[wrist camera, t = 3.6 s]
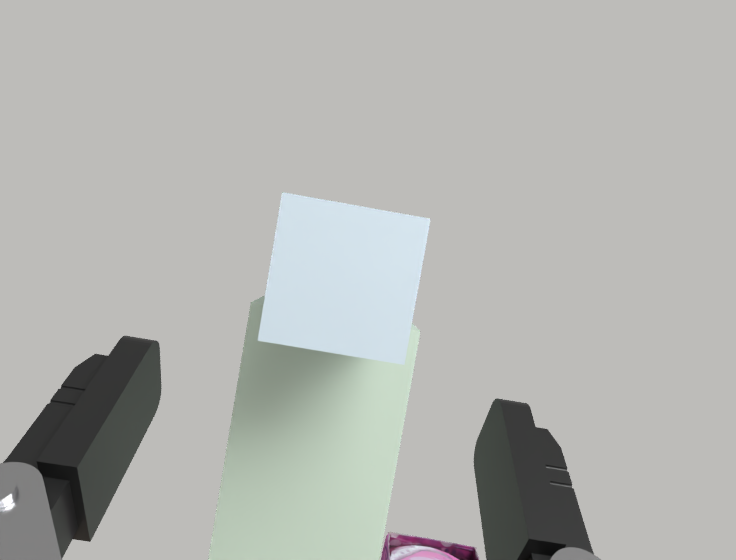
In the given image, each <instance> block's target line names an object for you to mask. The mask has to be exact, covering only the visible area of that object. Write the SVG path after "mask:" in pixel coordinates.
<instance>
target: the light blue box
mask: <svg viewBox="0 0 736 560" xmlns="http://www.w3.org/2000/svg"><path fill="white" fill-rule="evenodd" d="M429 225H430V219H429V218H423V217H417V216H412V215H406V214H401V213H395V212H389V211H383V210H379V209H373V208H367V207H362V206H356V205H351V204H344V203H340V202H333V201H328V200H322V199H317V198H312V197H306V196H300V195H295V194H289V193H283V192H282V197H281V203H280V209H279V215H278V221H277V227H276V233H275V239H274V246H273V251H272V257H271V264H270V269H269V275H268V281H267V287H266V294H265V299H264V305H263V311H262V317H261V323H260V329H259V335H258V341H263V342H269V343H275V344H281V345H287V346H293V347H299V348H305V349H311V350H317V351H323V352H329V353H335V354H341V355H347V356H353V357H359V358H366V359H372V360H378V361H384V362H390V363H396V364H402V365H404V364H405V359H406V353H407V348H408V342H409V336H410V331H411V325H412V320H413V314H414V308H415V303H416V297H417V292H418V286H419V281H420V275H421V269H422V264H423V258H424V252H425V247H426V242H427V235H428V231H429Z"/></svg>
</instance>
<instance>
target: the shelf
mask: <svg viewBox="0 0 736 560" xmlns="http://www.w3.org/2000/svg"><path fill="white" fill-rule="evenodd" d="M264 299H265V296H263V297H261V298H259V299H257V300H255V301H253V302H251V306H250V311H249V318H248V324H247V330H246V335H245V342H244V347H243V354H242V360H241V366H240V372H239V378H238V384H237V390H236V396H235V402H234V408H233V414H232V420H231V426H230V432H229V438H228V444H227V450H226V456H225V462H224V468H223V474H222V480H221V486H220V492H219V498H218V504H217V510H216V516H215V522H214V528H213V534H212V540H211V546H210V552H209V558H208V560H380V554H381V549H382V543H383V537H384V532H385V526H386V520H387V515H388V510H389V504H390V498H391V493H392V486H393V482H394V476H395V471H396V464H397V459H398V453H399V448H400V443H401V437H402V432H403V426H404V420H405V414H406V409H407V404H408V398H409V393H410V387H411V381H412V376H413V370H414V365H415V359H416V354H417V348H418V342H419V336H420V330H419V329H418V328H417V327H416V326H415V325H414V324H413V323H412V325H411V331H410V336H409V342H408V348H407V353H406V359H405V364H404V365H402V364H396V363H390V362H384V361H378V360H372V359H366V358H359V357H353V356H347V355H341V354H335V353H329V352H323V351H317V350H311V349H305V348H299V347H293V346H287V345H281V344H275V343H269V342H263V341H258V335H259V329H260V323H261V317H262V311H263V305H264Z"/></svg>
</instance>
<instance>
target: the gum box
mask: <svg viewBox="0 0 736 560" xmlns="http://www.w3.org/2000/svg"><path fill="white" fill-rule="evenodd" d="M381 560H479V557H478V554H477V551H476V547H471V546H465V545H460V544H456V543H450V542H445V541H440V540H434V539H429V538H422V537H417V536H411V535H405V534H399V533H393V532H389V533H388V535H387V536H386V539H385V544H384V548H383V552H382V558H381Z"/></svg>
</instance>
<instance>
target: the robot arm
mask: <svg viewBox="0 0 736 560" xmlns="http://www.w3.org/2000/svg"><path fill="white" fill-rule="evenodd" d="M160 396H161V370H160V348H159V343H158V342H157V341H154V340H148V339H142V338H136V337H130V336H123V337H122V338H121V339H120V340H119V342H118V343H117V345H116V346H115V347H114V349H113V350H112V352H111V353H110V354H109V356H104V355H99V354H94V355H93V356H92V357H90V358H88V359H87V360H85V361H84V362H82V363H81V364H79V365H78V366H77V367H75V368H74V369H73V371H72V372H71V373H70V375H69V376H68V377H67V379H66V380H65V381H64V383H63V384H62V386H61V389H58V391H57V392H56V393H55V395H54V396H53V398H52V399H51V402H50V404H47V405H46V407H45V408H44V410H43V411H42V412H41V413H40V415H39V416H38V418H37V419H36V420H35V422H34V423H33V424H32V426H31V427H30V428H29V430H28V431H27V432H26V434H25V435H24V436H23V438H22V439H21V440H20V442H19V443H18V444H17V446H16V447H15V448H14V450H13V451H12V453H11V454H10V455H9V456H8V458H7V459H6V460H5V461H4V462H3V463H1V464H0V560H62V557H63V555H64V554H65V552H66V550H67V548H68V546H69V544H70V542H71V541H72V539H76V540H83V541H89V542H90V541H91V539H92V537H93V535H94V533H95V531H96V529H97V528H98V525H99V524H100V522H101V520H102V518H103V516H104V514H105V512H106V510H107V508H108V506H109V504H110V502H111V500H112V498H113V496H114V494H115V492H116V490H117V488H118V486H119V484H120V482H121V480H122V478H123V476H124V474H125V473H126V470H127V468H128V467H129V465H130V463H131V461H132V459H133V457H134V454H135V453H136V451H137V449H138V447H139V445H140V443H141V441H142V439H143V437H144V435H145V433H146V431H147V429H148V427H149V425H150V423H151V421H152V419H153V417H154V415H155V413H156V411H157V408H158V405H159V400H160ZM474 469H475V477H476V484H477V492H478V499H479V506H480V514H481V522H482V529H483V537H484V544H485V552H486V558H487V560H600V559H599V558H598V557H596V556H595V555H594V553H593V551H592V548H591V545H590V541H589V538H588V535H587V532H586V528H585V525H584V522H583V518H582V515H581V512H580V509H579V505H578V502H577V499H576V495H575V492H574V489H573V488H572V482H571V479H570V476H569V472H567V466H566V463H565V460H564V456H563V453H562V450H561V447H560V446H559V445H558V443H557V442H556V441H555V439H554V438H553V436H552V435H551V434H550V432H549V431H548V430H547V429H543V428H537V427H535V424H534V420H533V416H532V413H531V409H530V407H529V405H528V404H527V403H521V402H515V401H509V400H503V399H495V400H494V402H493V404H492V405H491V408H490V410H489V413H488V415H487V418H486V420H485V423H484V425H483V427H482V430H481V432H480V435H479V437H478V439H477V442H476V447H475V453H474Z"/></svg>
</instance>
